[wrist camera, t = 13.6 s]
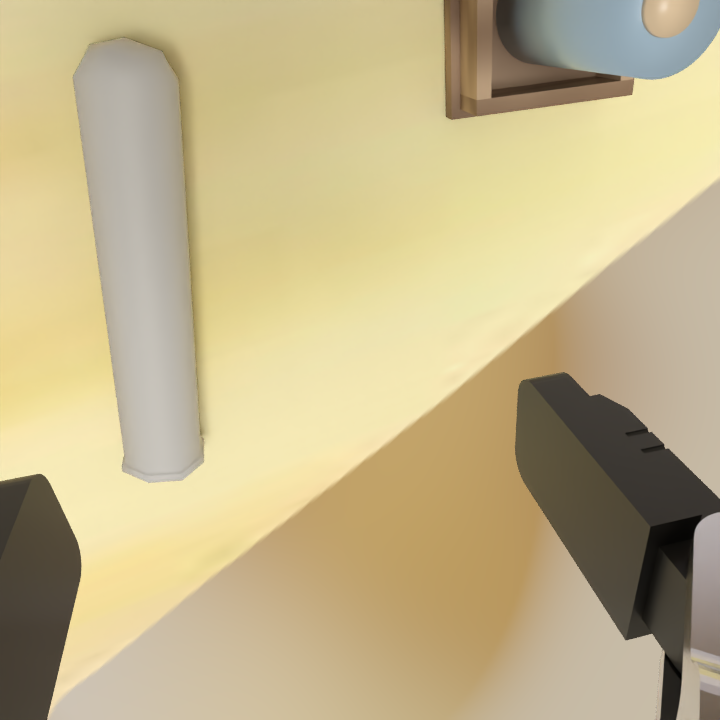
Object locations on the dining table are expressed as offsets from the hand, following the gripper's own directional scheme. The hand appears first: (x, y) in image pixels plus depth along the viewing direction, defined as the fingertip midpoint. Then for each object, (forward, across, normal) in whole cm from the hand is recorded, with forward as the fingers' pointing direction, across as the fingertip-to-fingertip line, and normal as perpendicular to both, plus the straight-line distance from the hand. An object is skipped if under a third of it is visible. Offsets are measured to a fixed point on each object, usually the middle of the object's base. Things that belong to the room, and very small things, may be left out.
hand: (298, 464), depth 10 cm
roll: (+27, -17, -5) cm, 32 cm away
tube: (+29, +7, +6) cm, 30 cm away
